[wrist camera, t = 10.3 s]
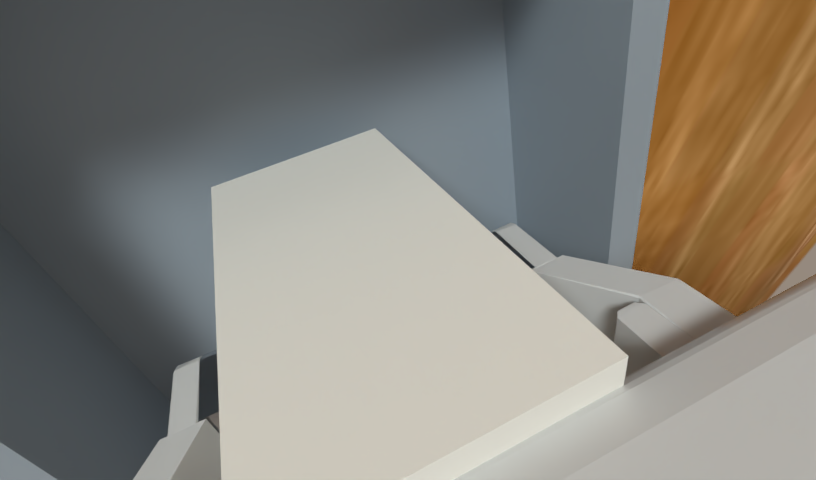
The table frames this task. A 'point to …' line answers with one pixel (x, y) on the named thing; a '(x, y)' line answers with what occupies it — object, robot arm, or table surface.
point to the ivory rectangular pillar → (382, 326)
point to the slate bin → (262, 147)
